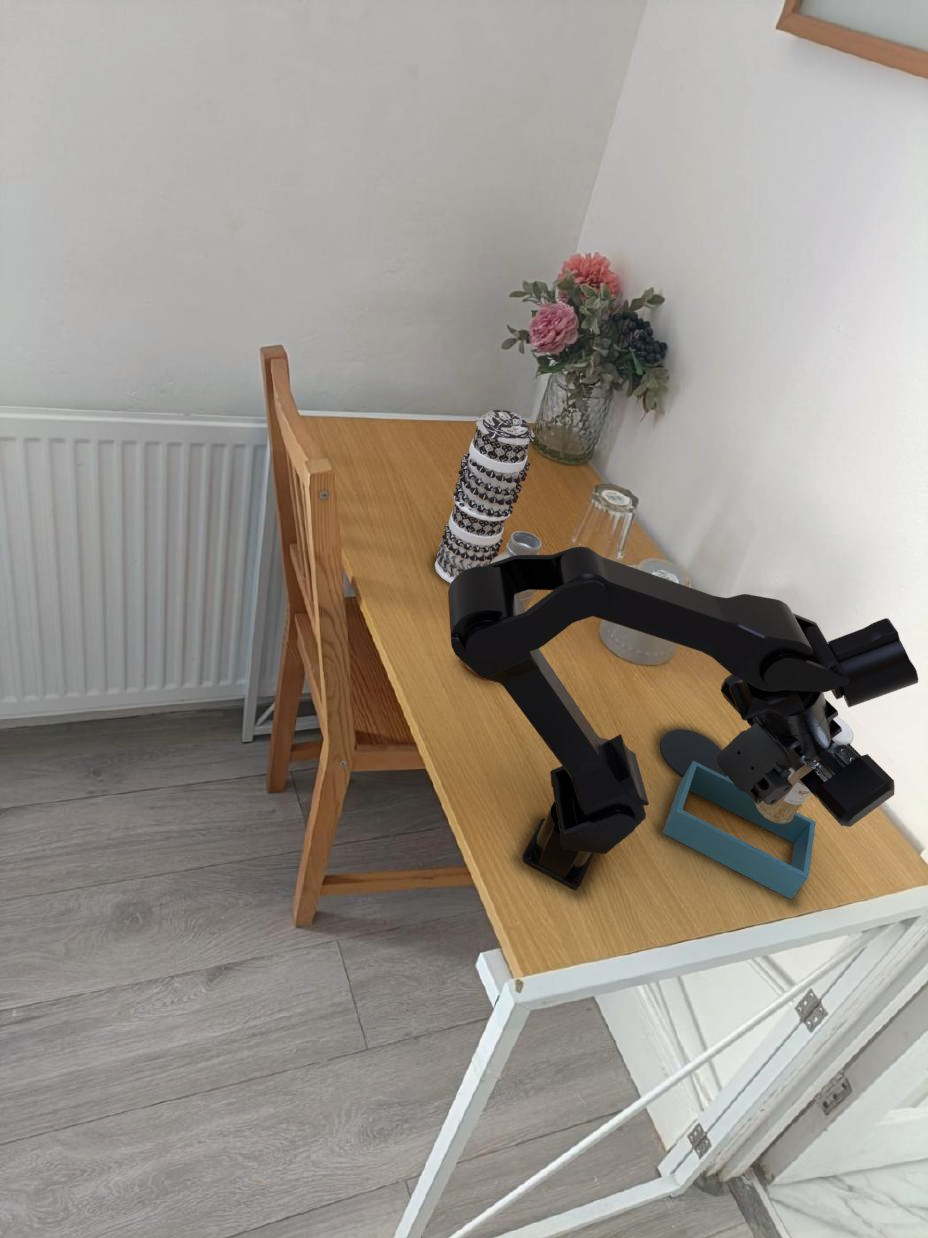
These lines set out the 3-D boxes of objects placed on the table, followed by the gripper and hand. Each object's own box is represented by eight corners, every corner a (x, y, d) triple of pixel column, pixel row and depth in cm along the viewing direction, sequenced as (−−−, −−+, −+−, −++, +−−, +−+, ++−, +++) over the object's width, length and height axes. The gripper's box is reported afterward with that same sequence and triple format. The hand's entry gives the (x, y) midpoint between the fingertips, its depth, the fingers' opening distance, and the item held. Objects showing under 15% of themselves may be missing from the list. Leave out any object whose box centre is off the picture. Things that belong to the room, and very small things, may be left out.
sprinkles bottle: (787, 832, 95) (852, 749, 87) (748, 810, 96) (809, 725, 88) (795, 807, 99) (858, 725, 91) (757, 786, 100) (817, 702, 92)
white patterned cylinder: (502, 589, 129) (554, 437, 114) (444, 591, 125) (490, 434, 110) (479, 552, 135) (526, 404, 120) (424, 552, 131) (465, 399, 116)
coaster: (721, 796, 106) (722, 795, 106) (652, 762, 108) (653, 760, 108) (733, 752, 113) (734, 750, 113) (668, 720, 115) (669, 718, 115)
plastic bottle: (503, 689, 111) (551, 562, 99) (452, 673, 111) (495, 544, 99) (510, 659, 116) (557, 535, 105) (461, 643, 116) (503, 517, 105)
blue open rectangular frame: (790, 900, 96) (808, 878, 94) (662, 833, 99) (676, 810, 97) (799, 843, 103) (816, 821, 101) (679, 782, 106) (693, 760, 104)
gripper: (664, 690, 88) (697, 745, 100) (791, 838, 76) (811, 880, 89) (754, 622, 87) (776, 686, 100) (896, 761, 76) (901, 814, 88)
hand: (811, 764), depth 94 cm, fingers closed on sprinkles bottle, 4 cm apart
